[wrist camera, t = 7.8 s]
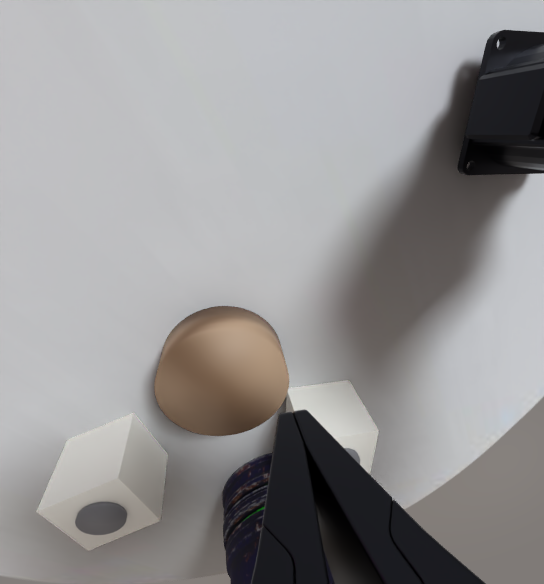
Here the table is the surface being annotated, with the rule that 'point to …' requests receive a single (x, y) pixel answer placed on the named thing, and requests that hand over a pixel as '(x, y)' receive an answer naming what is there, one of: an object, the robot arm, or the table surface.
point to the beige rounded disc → (221, 372)
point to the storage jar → (246, 518)
